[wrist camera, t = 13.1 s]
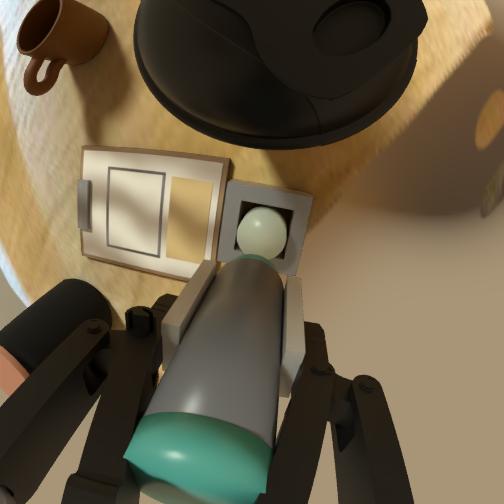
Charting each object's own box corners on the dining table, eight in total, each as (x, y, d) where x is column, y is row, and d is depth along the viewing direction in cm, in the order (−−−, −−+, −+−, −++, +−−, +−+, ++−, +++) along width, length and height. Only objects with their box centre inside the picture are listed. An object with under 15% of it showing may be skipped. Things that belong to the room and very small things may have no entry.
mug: (97, 96, 27) (42, 90, 18) (54, 101, 27) (2, 100, 18) (117, 9, 22) (72, -17, 14) (72, 20, 23) (26, 4, 14)
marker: (224, 241, 18) (105, 433, 5) (292, 257, 18) (294, 483, 5) (213, 300, 20) (126, 490, 6) (275, 315, 19) (252, 524, 6)
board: (85, 145, 29) (78, 146, 27) (230, 158, 28) (227, 159, 27) (85, 253, 34) (78, 257, 33) (213, 283, 33) (210, 289, 32)
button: (245, 201, 28) (240, 208, 25) (290, 210, 28) (290, 218, 25) (238, 244, 30) (233, 255, 27) (281, 252, 29) (281, 264, 27)
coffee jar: (62, 320, 39) (-4, 387, 23) (58, 264, 35) (-28, 328, 19) (115, 347, 39) (54, 431, 23) (117, 291, 35) (33, 378, 19)
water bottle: (283, 168, 28) (273, 250, 6) (209, 100, 26) (33, 28, 5) (355, 101, 24) (514, 21, 3) (280, 33, 23) (257, -143, 1)
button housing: (232, 178, 29) (227, 181, 26) (311, 193, 28) (313, 197, 26) (222, 252, 32) (216, 260, 29) (294, 266, 31) (295, 276, 29)
